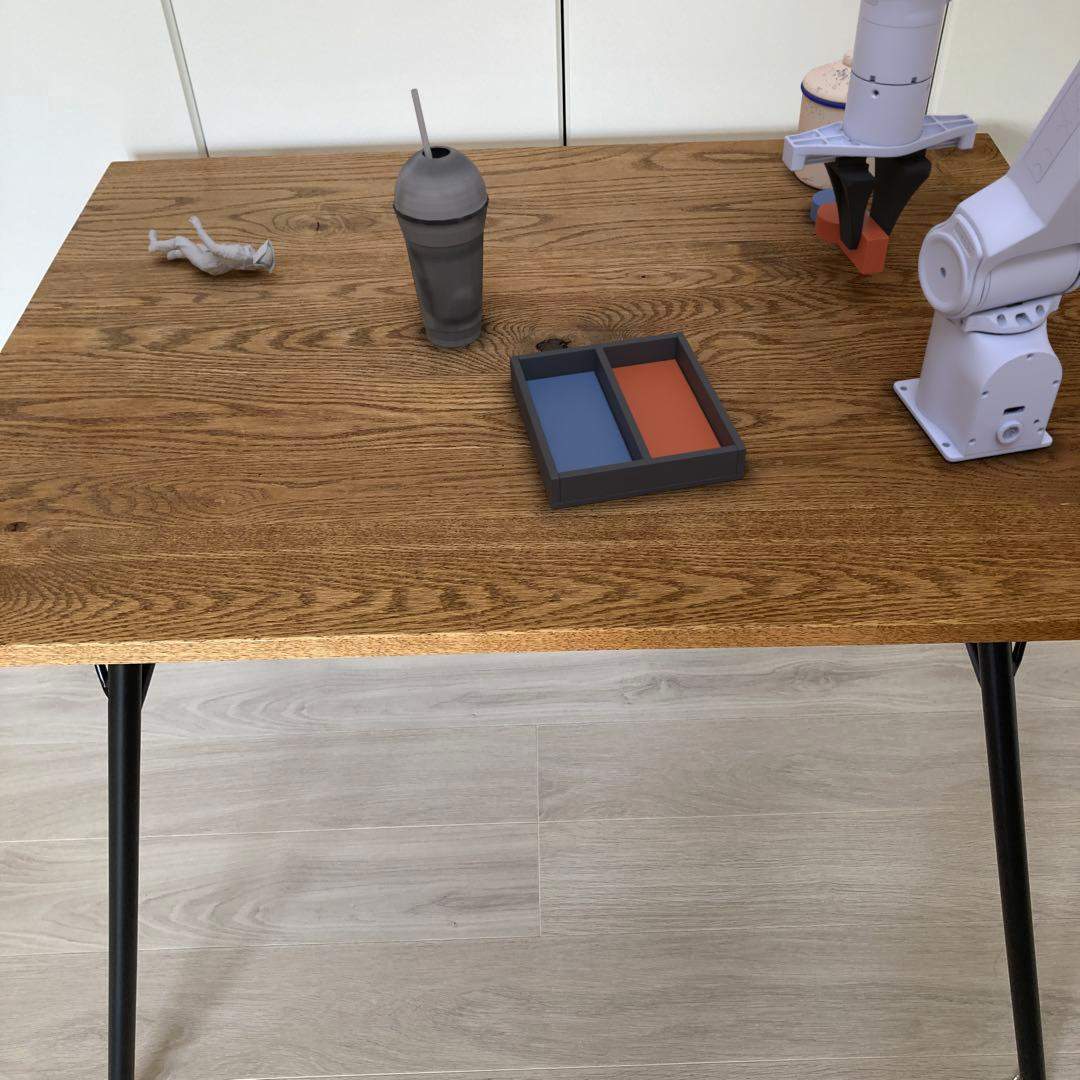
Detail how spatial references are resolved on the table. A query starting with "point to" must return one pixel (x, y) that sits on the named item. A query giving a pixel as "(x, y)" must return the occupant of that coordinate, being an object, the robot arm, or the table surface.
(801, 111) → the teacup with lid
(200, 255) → the soldier figure
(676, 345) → the divided sorting tray
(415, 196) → the beverage cup
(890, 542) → the table surface
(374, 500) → the table surface
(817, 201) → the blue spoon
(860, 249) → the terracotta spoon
